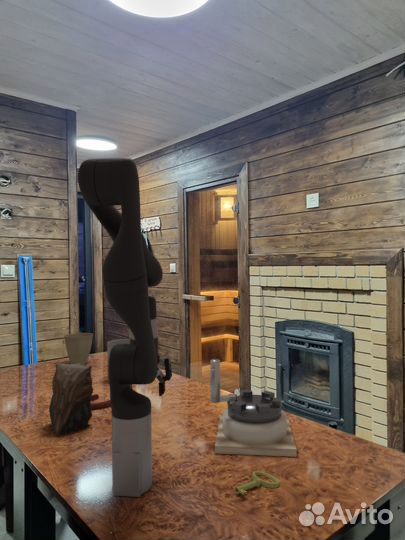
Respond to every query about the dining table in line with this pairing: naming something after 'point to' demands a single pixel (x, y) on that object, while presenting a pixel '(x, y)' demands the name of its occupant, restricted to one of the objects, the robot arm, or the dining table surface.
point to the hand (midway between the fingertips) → (145, 394)
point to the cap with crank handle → (245, 401)
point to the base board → (276, 449)
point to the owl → (71, 398)
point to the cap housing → (255, 430)
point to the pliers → (99, 405)
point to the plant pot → (78, 347)
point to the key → (257, 482)
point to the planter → (110, 346)
